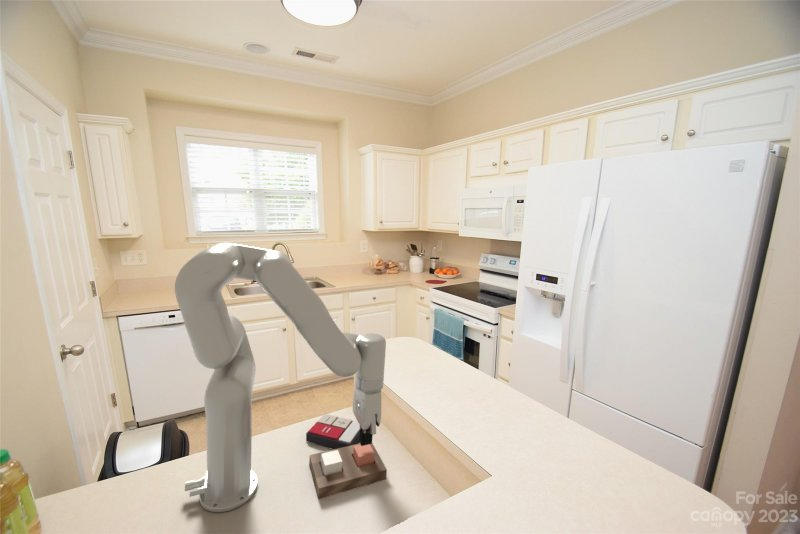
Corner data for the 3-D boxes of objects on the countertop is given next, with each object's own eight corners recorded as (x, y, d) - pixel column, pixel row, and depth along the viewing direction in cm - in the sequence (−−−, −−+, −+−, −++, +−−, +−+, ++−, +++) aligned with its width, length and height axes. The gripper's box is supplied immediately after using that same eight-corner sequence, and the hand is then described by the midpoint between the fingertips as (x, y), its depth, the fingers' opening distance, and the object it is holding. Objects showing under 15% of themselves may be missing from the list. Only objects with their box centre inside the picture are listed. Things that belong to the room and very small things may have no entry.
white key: (324, 479, 85) (325, 465, 84) (320, 467, 89) (321, 453, 88) (341, 475, 87) (342, 461, 86) (337, 463, 91) (337, 449, 90)
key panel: (318, 499, 81) (318, 488, 80) (309, 464, 91) (309, 455, 91) (386, 479, 88) (386, 469, 88) (370, 449, 99) (371, 440, 99)
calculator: (324, 411, 110) (365, 421, 106) (324, 423, 111) (365, 433, 107) (305, 431, 100) (350, 442, 96) (305, 444, 101) (350, 456, 96)
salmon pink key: (357, 470, 89) (358, 457, 88) (352, 459, 93) (353, 446, 92) (373, 466, 91) (374, 453, 90) (367, 455, 95) (368, 442, 94)
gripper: (347, 370, 93) (344, 429, 96) (365, 397, 80) (361, 465, 82) (372, 366, 96) (369, 424, 99) (393, 392, 83) (388, 458, 86)
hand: (365, 442), depth 91 cm, fingers closed
